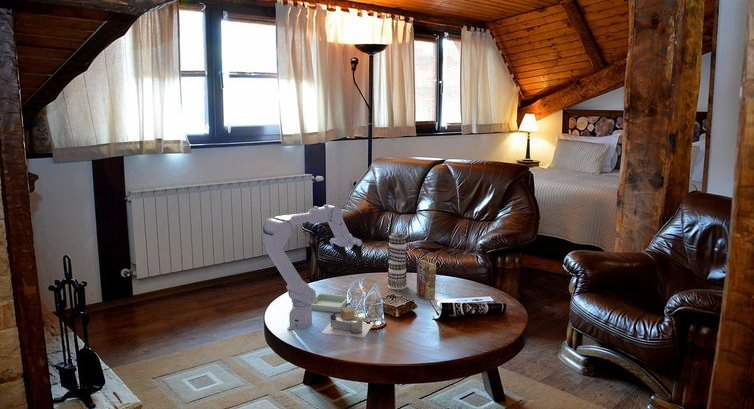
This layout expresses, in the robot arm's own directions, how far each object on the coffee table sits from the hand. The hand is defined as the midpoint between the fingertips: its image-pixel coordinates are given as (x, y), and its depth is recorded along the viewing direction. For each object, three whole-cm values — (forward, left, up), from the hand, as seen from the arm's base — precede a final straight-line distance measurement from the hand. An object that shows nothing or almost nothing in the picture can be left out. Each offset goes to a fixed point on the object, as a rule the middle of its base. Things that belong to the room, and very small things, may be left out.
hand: (353, 257), depth 240 cm
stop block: (-19, -3, -21) cm, 28 cm away
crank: (-24, -5, -20) cm, 32 cm away
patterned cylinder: (+34, -11, -22) cm, 42 cm away
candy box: (+24, -26, -22) cm, 41 cm away
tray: (0, +10, -22) cm, 24 cm away
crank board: (-21, -5, -22) cm, 31 cm away
